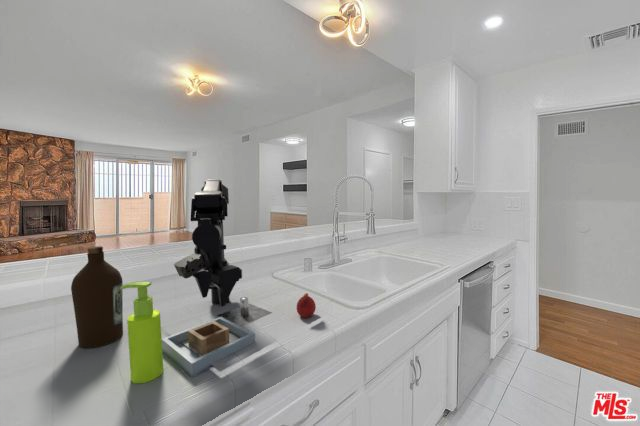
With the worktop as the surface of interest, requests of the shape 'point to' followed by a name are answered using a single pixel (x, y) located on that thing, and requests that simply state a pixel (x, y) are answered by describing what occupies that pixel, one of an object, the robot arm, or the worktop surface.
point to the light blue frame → (200, 364)
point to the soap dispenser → (144, 336)
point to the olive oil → (97, 301)
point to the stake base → (246, 318)
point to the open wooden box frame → (208, 337)
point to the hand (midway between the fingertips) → (213, 301)
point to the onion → (306, 306)
